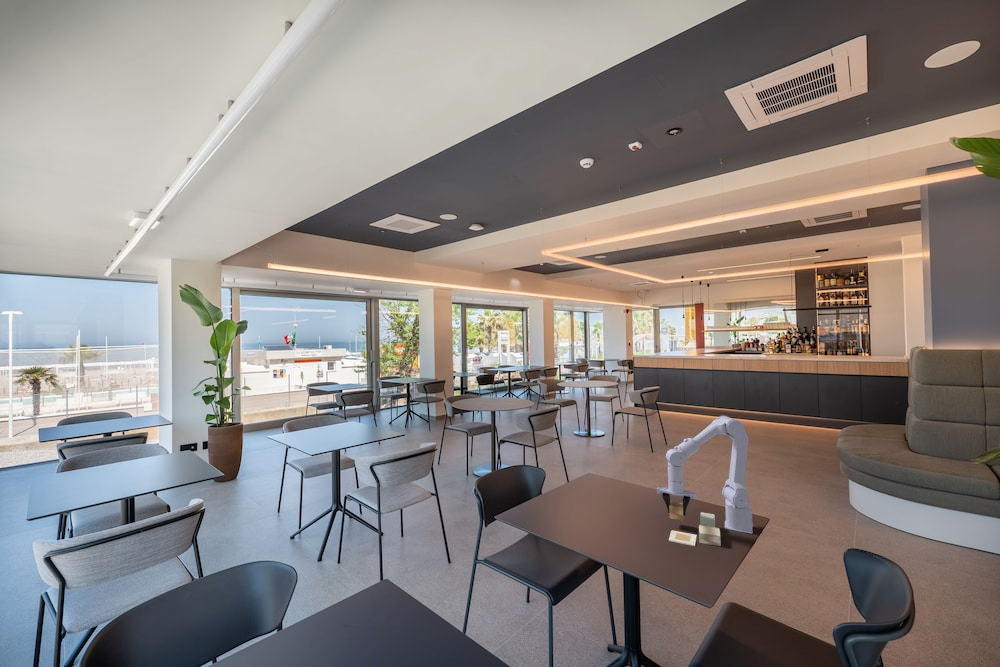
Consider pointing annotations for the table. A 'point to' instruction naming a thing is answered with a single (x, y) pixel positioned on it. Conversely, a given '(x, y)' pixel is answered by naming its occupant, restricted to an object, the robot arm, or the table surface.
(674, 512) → the oak cube
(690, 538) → the card
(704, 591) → the table surface
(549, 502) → the table surface
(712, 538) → the base block
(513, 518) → the table surface
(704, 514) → the sage cube
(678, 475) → the robot arm
